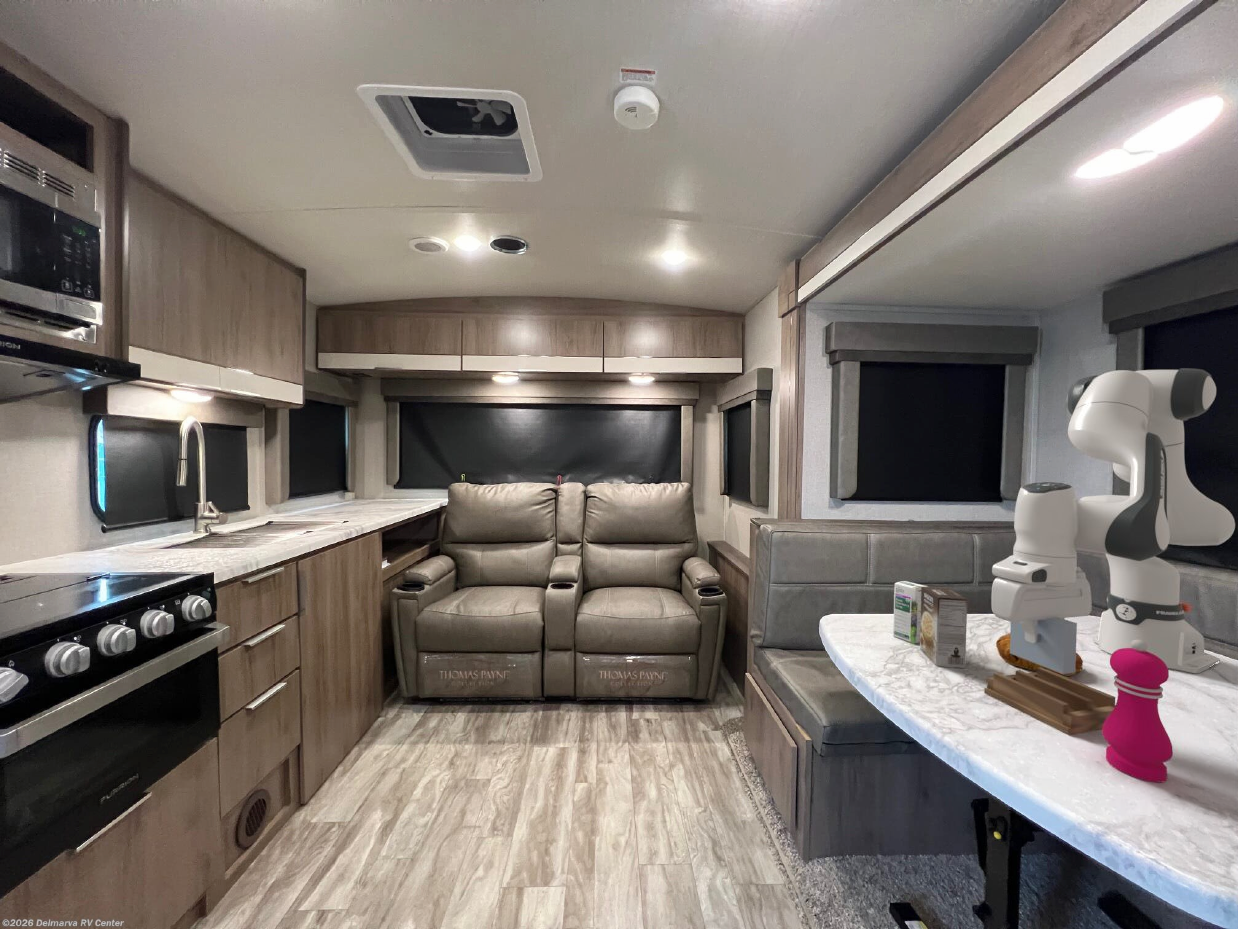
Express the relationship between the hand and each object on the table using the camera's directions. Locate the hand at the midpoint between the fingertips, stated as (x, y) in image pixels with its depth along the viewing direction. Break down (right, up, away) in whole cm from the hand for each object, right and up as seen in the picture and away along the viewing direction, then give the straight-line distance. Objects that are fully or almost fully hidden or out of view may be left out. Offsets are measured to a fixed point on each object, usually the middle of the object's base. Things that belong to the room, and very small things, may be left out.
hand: (1041, 641), depth 87 cm
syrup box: (-3, -13, +34) cm, 37 cm away
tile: (0, -4, 0) cm, 4 cm away
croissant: (+18, -14, +20) cm, 30 cm away
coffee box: (-3, -13, +22) cm, 26 cm away
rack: (+3, -13, +1) cm, 14 cm away
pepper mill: (0, -14, -16) cm, 21 cm away
